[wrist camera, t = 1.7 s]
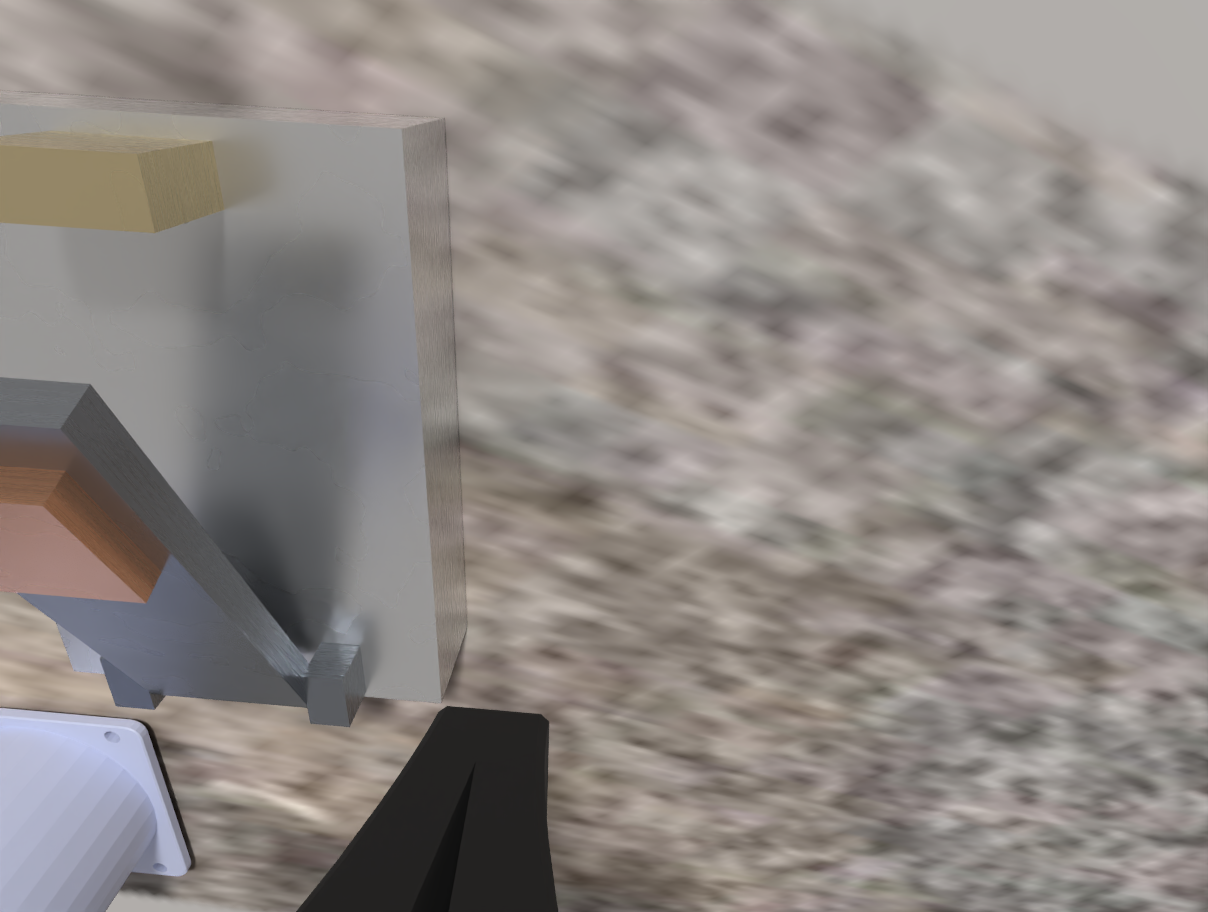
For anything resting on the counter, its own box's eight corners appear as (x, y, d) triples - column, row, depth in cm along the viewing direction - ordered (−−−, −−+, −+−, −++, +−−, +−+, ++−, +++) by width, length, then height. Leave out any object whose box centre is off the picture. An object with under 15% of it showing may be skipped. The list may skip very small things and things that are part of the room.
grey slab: (166, 663, 19) (141, 717, 18) (-190, 363, 10) (-270, 441, 9) (319, 676, 19) (301, 732, 18) (90, 383, 10) (35, 465, 9)
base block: (142, 600, 23) (11, 736, 18) (-12, 89, 16) (-279, 99, 12) (467, 627, 22) (417, 773, 18) (444, 118, 16) (357, 140, 11)
